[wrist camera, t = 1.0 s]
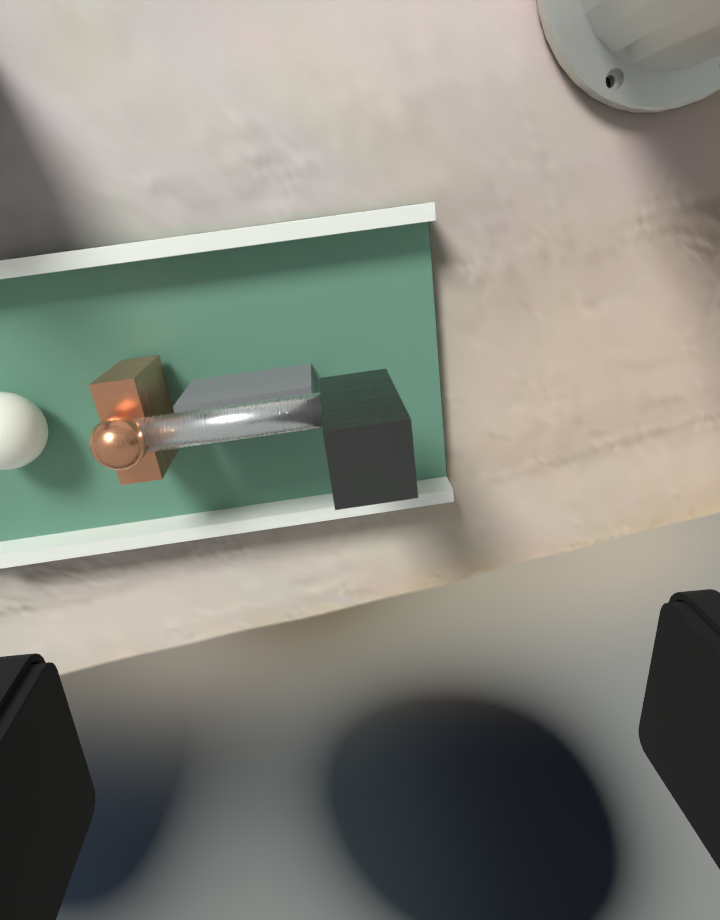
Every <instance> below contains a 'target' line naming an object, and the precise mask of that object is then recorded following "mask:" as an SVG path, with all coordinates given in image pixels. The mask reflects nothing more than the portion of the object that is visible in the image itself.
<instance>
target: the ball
mask: <svg viewBox="0 0 720 920" xmlns="http://www.w3.org/2000/svg"><path fill="white" fill-rule="evenodd" d="M47 438H48V425H47V422H46V419H45V416H44V415H43V413H42V411H41V410H40V409H39V408H38V407H37V406H36V405H35V404H34V403H33V402H32V401H30V400H29V399H27V398H25V397H23V396H20V395H18V394H14V393H9V392H0V470H11V469H16V468H20V467H22V466H25V465H27V464H29V463H30V462H32V461H33V460H35V459H36V458H37V457H38V456H39V455H40V453H41V452H42V451H43V449H44V447H45V445H46V442H47Z"/></svg>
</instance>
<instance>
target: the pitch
mask: <svg viewBox="0 0 720 920" xmlns="http://www.w3.org/2000/svg"><path fill="white" fill-rule="evenodd" d="M435 220H436V219H435V204H434V202H432V203H423V204H415V205H408V206H400V207H393V208H385V209H378V210H370V211H363V212H356V213H348V214H341V215H333V216H326V217H318V218H311V219H304V220H296V221H289V222H281V223H274V224H266V225H259V226H251V227H244V228H237V229H229V230H222V231H214V232H207V233H199V234H192V235H184V236H177V237H170V238H162V239H155V240H147V241H140V242H132V243H125V244H118V245H110V246H103V247H95V248H88V249H80V250H73V251H65V252H58V253H51V254H43V255H36V256H28V257H21V258H13V259H6V260H0V392H9V393H14V394H18V395H20V396H23V397H25V398H27V399H29V400H30V401H32V402H33V403H34V404H35V405H36V406H37V407H38V408H39V409H40V410H41V411H42V413H43V415H44V416H45V419H46V422H47V425H48V438H47V442H46V445H45V447H44V449H43V451H42V452H41V453H40V455H39V456H38V457H37V458H36V459H35V460H33V461H32V462H30V463H29V464H27V465H25V466H22V467H20V468H16V469H11V470H0V569H1V568H8V567H15V566H22V565H28V564H35V563H42V562H49V561H55V560H62V559H69V558H76V557H83V556H89V555H96V554H103V553H110V552H117V551H123V550H130V549H137V548H144V547H151V546H157V545H164V544H171V543H178V542H185V541H191V540H198V539H205V538H212V537H218V536H225V535H232V534H239V533H246V532H252V531H259V530H266V529H273V528H280V527H286V526H293V525H300V524H307V523H314V522H320V521H327V520H334V519H341V518H348V517H354V516H361V515H368V514H375V513H381V512H388V511H395V510H402V509H409V508H415V507H422V506H429V505H436V504H443V503H449V502H454V493H453V488H452V486H451V484H450V482H449V480H448V478H447V476H446V462H445V448H444V433H443V419H442V405H441V391H440V376H439V362H438V348H437V334H436V319H435V305H434V291H433V277H432V263H431V248H430V234H429V221H435ZM153 355H160V359H161V363H162V367H163V370H164V374H165V378H166V382H167V385H168V389H169V393H170V397H171V401H172V404H173V409H174V413H179V412H186V411H193V410H200V409H207V408H214V407H221V406H228V405H235V404H242V403H249V402H256V401H263V400H270V399H277V398H284V397H291V396H298V395H306V394H313V393H320V378H322V377H329V376H336V375H344V374H351V373H358V372H365V371H372V370H379V369H387V371H388V373H389V375H390V377H391V379H392V381H393V383H394V386H395V388H396V390H397V392H398V394H399V396H400V398H401V400H402V402H403V404H404V406H405V408H406V410H407V412H408V414H409V416H410V418H411V424H412V434H413V445H414V456H415V466H416V477H417V488H418V498H415V499H408V500H401V501H394V502H388V503H381V504H374V505H367V506H360V507H354V508H347V509H340V510H335V506H334V500H333V494H332V487H331V481H330V475H329V469H328V462H327V456H326V450H325V443H324V437H323V429H322V428H317V429H310V430H303V431H296V432H289V433H282V434H275V435H268V436H261V437H254V438H247V439H240V440H233V441H226V442H219V443H212V444H205V445H198V446H191V447H184V448H180V449H179V451H178V452H177V454H176V456H175V458H174V459H173V461H172V463H171V465H170V467H169V468H168V470H167V472H166V474H165V475H164V477H163V479H161V480H154V481H147V482H140V483H133V484H126V485H120V481H119V478H118V475H117V472H116V470H112V469H108V468H106V467H104V466H102V465H101V464H99V463H98V462H97V461H96V460H95V459H94V457H93V455H92V453H91V451H90V447H89V439H90V435H91V432H92V430H93V429H94V427H95V426H96V425H97V424H98V423H99V422H100V419H99V416H98V413H97V410H96V406H95V403H94V400H93V397H92V394H91V391H90V388H89V384H90V383H92V382H93V381H94V380H95V379H97V378H98V377H99V376H101V375H102V374H103V373H105V372H106V371H107V370H109V369H110V368H111V367H113V366H114V365H115V364H116V363H118V362H119V361H120V360H125V359H132V358H139V357H146V356H153Z"/></svg>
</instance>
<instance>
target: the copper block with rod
mask: <svg viewBox="0 0 720 920" xmlns="http://www.w3.org/2000/svg"><path fill="white" fill-rule="evenodd" d="M89 388H90V391H91V394H92V397H93V400H94V403H95V406H96V410H97V413H98V416H99V419H100V422H99V423H98V424H97V425H96V426H95V427H94V429H93V430H92V432H91V435H90V439H89V447H90V451H91V453H92V455H93V457H94V459H95V460H96V461H97V462H98V463H99V464H101V465H102V466H104V467H106V468H108V469H112V470H116V472H117V475H118V478H119V481H120V485H126V484H133V483H140V482H147V481H154V480H161V479H163V477H164V475H165V474H166V472H167V470H168V468H169V467H170V465H171V463H172V461H173V459H174V458H175V456H176V454H177V452H178V451H179V449H180V448H184V447H191V446H198V445H205V444H212V443H219V442H226V441H233V440H240V439H247V438H254V437H261V436H268V435H275V434H282V433H289V432H296V431H303V430H310V429H317V428H322V429H323V437H324V443H325V450H326V456H327V462H328V469H329V475H330V481H331V487H332V494H333V500H334V506H335V510H340V509H347V508H354V507H360V506H367V505H374V504H381V503H388V502H394V501H401V500H408V499H415V498H418V488H417V477H416V466H415V456H414V445H413V434H412V424H411V418H410V416H409V414H408V412H407V410H406V408H405V406H404V404H403V402H402V400H401V398H400V396H399V394H398V392H397V390H396V388H395V386H394V383H393V381H392V379H391V377H390V375H389V373H388V371H387V369H379V370H372V371H365V372H358V373H351V374H344V375H336V376H329V377H322V378H320V393H313V394H306V395H298V396H291V397H284V398H277V399H270V400H263V401H256V402H249V403H242V404H235V405H228V406H221V407H214V408H207V409H200V410H193V411H186V412H179V413H174V409H173V404H172V401H171V397H170V393H169V389H168V385H167V382H166V378H165V374H164V370H163V367H162V363H161V359H160V355H153V356H146V357H139V358H132V359H125V360H120V361H119V362H118V363H116V364H115V365H114V366H113V367H111V368H110V369H109V370H107V371H106V372H105V373H103V374H102V375H101V376H99V377H98V378H97V379H95V380H94V381H93V382H92V383H90V384H89Z"/></svg>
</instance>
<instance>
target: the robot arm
mask: <svg viewBox="0 0 720 920" xmlns="http://www.w3.org/2000/svg"><path fill="white" fill-rule="evenodd" d="M537 8H538V13H539V16H540V19H541V23H542V26H543V30H544V33H545V37H546V39H547V41H548V43H549V45H550V47H551V49H552V51H553V53H554V55H555V57H556V59H557V61H558V63H559V64H560V66H561V67H562V68H563V69H564V71H565V72H566V73H567V75H568V76H569V77H570V78H571V80H572V81H573V82H574V83H575V84H576V85H577V86H579V87H580V88H581V89H582V90H583V91H585V92H586V93H587V94H588V95H590V96H591V97H592V98H594V99H596V100H598V101H600V102H602V103H604V104H606V105H608V106H610V107H612V108H616V109H621V110H625V111H630V112H634V113H647V112H662V111H666V110H670V109H675V108H679V107H682V106H685V105H688V104H691V103H694V102H696V101H699V100H702V99H705V98H706V97H708V96H710V95H711V94H713V93H715V92H717V91H718V90H720V67H719V65H720V0H537ZM606 77H608V78H609V79H610V86H609V88H608V87H607V86H606ZM639 738H640V742H641V745H642V748H643V750H644V752H645V754H646V756H647V757H648V759H649V760H650V762H651V763H652V765H653V766H654V768H655V770H656V771H657V773H658V774H659V776H660V777H661V779H662V781H663V782H664V784H665V785H666V787H667V788H668V790H669V791H670V793H671V794H672V796H673V798H674V799H675V801H676V802H677V804H678V805H679V807H680V808H681V810H682V812H683V813H684V814H685V816H686V818H687V819H688V821H689V822H690V824H691V825H692V827H693V829H694V830H695V832H696V833H697V835H698V836H699V838H700V839H701V841H702V843H703V844H704V845H705V847H706V849H707V850H708V852H709V853H710V855H711V857H712V858H713V860H714V861H715V863H716V864H717V866H718V867H719V869H720V593H719V592H718V591H715V590H711V589H709V590H699V591H687V592H678V593H675V594H673V595H672V596H671V598H670V600H669V603H665V604H664V605H663V606H662V608H661V611H660V616H659V621H658V626H657V632H656V638H655V643H654V648H653V653H652V659H651V665H650V670H649V676H648V681H647V686H646V692H645V697H644V702H643V708H642V713H641V718H640V724H639ZM94 806H95V790H94V786H93V783H92V780H91V776H90V773H89V770H88V766H87V763H86V760H85V757H84V754H83V750H82V747H81V744H80V741H79V738H78V735H77V731H76V728H75V725H74V722H73V719H72V715H71V712H70V709H69V706H68V702H67V699H66V696H65V693H64V690H63V686H62V683H61V680H60V677H59V674H58V670H57V668H56V666H55V665H54V664H53V663H50V662H49V663H45V661H44V658H43V657H42V656H41V655H40V654H26V655H16V656H5V657H0V920H56V917H57V915H58V912H59V909H60V906H61V903H62V901H63V898H64V895H65V892H66V889H67V886H68V884H69V881H70V878H71V875H72V873H73V870H74V867H75V864H76V861H77V858H78V856H79V853H80V850H81V847H82V845H83V842H84V839H85V836H86V833H87V830H88V828H89V824H90V822H91V819H92V816H93V813H94Z"/></svg>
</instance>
